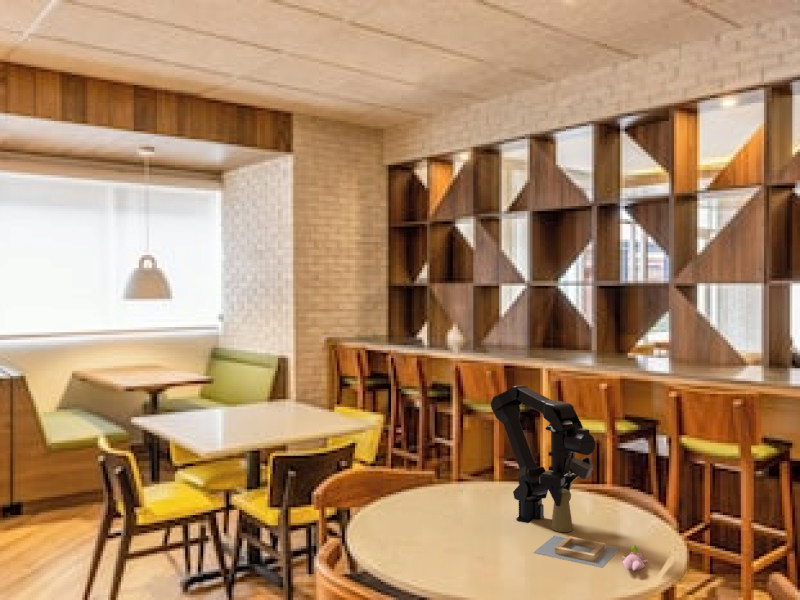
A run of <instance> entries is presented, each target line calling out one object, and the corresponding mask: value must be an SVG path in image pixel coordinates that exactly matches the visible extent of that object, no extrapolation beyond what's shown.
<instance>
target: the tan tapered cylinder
mask: <svg viewBox="0 0 800 600" xmlns="http://www.w3.org/2000/svg"><path fill="white" fill-rule="evenodd" d="M571 499H572V493H571V491H569V490H567V489H563V490H562V498H561V504H560V506H556V504H555V502H554V501H553V509H552V515H551V516H552V517H551V523H550V524H551V525H550V528H551V529H552V530H553V531H555V532H561V533H568V532H571V531H573V530H574V526H573V520H572V512H571V505H570V501H571Z"/></svg>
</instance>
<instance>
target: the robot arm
mask: <svg viewBox="0 0 800 600" xmlns="http://www.w3.org/2000/svg"><path fill="white" fill-rule="evenodd" d="M522 404H525V405H526V406H528V407H530V408H531V409H533V410H535V411H537V412H539V413H540V414H542V417H543V419H544V420H546V422H547V423H549V424H548V425H547V426H546V427H545V430H546V431H549V432H550V451H548V456H549V457H550V465H549V466H548V470H546V468H545V467H544V466H538V465H537V464H536V461H535V459H534V457H533V454H532V451H531V449H530V445H529V444H528V440H527V438H526V435H525V432H524V430H523V426H522V424H521V422H520V416H521V407H520V406H521V405H522ZM490 409H491V411H492V412H493V414H494V416H495V418H496V419H497V420H498V421H499V422H500V423H501V424H503V427H504V430H505V433H506V435H507V438H508V441H509V443H510V445H511V446H510V447H511V449H512V452H513V455H514V457H515V459H516V460H515V461H516V462H517V466H518V468H519V470H518V471H519V472H518V476H517V482H518V485H517V487H515V489H514V490H513V491H512V494H513V499H514V500H517V501H518V516H517V517H516V519H515V520H516V521H519V522H520V521H521V522H525V523H531V522H532V521H534V520H542V519H545V515H544V513H545V512H544V505H545V504H543V499H546V498H547V496H548V492H549V494H550V495H551V497H552V500H553V503H554V502H555V504H556V506H560V504H561V498H562V490H563V489H567V490H569V491H570V490H571V487H572V485H573V482H574V481H575V480H577V478H581V479H582V480H586V479H587V478H590V477H591V476H590V475H591V473H592V471H593V470H594V464H593V460H592V458H591V457H588V456H589V455H591V454H593V452H594V450H595V447H596V440H595V439H594V436H593V435H592V434H591V433H590V430H589V429H587V428H584V427H583V424H582V421H581V420H580V418H579V416H578V415H577V413H576V410H575V408H574V406H573V405H572V403H569V402H566V401H561V400H553V399H550V398H548V397H546V396H544V395H542V394H540V393H538V392H537V391H534V390H532V389H531V388H529V387H528V385H527V386H526V385H525V384H523V385H514V386H512V387H510V388H508V389H507V390H505V391H503V392H502V393H499V394H498V395H495V396H493V397H492V400H491V401H490ZM576 453H577V454H581V455H584V456H586V457H584V458H583V459H582V458H577V457H576ZM570 492H571V491H570Z"/></svg>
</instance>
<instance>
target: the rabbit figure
mask: <svg viewBox="0 0 800 600" xmlns="http://www.w3.org/2000/svg"><path fill="white" fill-rule="evenodd" d="M621 558H622V559H623V560H622V565H623V566H624V568H625V569H626V570H631V571H639V570H642V569H643V568H645V567H646V565H645V563H648V562H649V559H644V555H643V552H638V547H637V545H636V544H633V545H632V547H631V551H630V553H628V555H627V556H626V557H625V556H624V555H623V556H621Z"/></svg>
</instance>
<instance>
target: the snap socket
mask: <svg viewBox="0 0 800 600" xmlns="http://www.w3.org/2000/svg"><path fill="white" fill-rule="evenodd" d="M565 538H566V539H564V540H563V541H562V542H561V543H560V544H559V545H557V546H556V547H555V554H559V555H564V556H569V557H574V558H578V559H583V560H588V561H593V562H594V561H595V560H596V559H597V558H598V557H599V556H600V555H601V553H602V552H603V551H604V550H605V549H606V546H607V544H606V542H601V541H595V540H592V539H591V540H590V539H586V538H580V537H577V536H576V537H574V536H570V535H568V536H567V537H565ZM571 544H574V545H579V546H584V547H589V548H594V550H593V551H592V552H591V553H587V552H582V551H577V550H573V549H568V548H567V547H568V546H570V545H571Z"/></svg>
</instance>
